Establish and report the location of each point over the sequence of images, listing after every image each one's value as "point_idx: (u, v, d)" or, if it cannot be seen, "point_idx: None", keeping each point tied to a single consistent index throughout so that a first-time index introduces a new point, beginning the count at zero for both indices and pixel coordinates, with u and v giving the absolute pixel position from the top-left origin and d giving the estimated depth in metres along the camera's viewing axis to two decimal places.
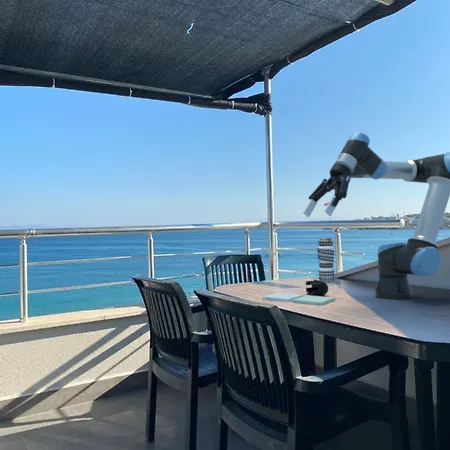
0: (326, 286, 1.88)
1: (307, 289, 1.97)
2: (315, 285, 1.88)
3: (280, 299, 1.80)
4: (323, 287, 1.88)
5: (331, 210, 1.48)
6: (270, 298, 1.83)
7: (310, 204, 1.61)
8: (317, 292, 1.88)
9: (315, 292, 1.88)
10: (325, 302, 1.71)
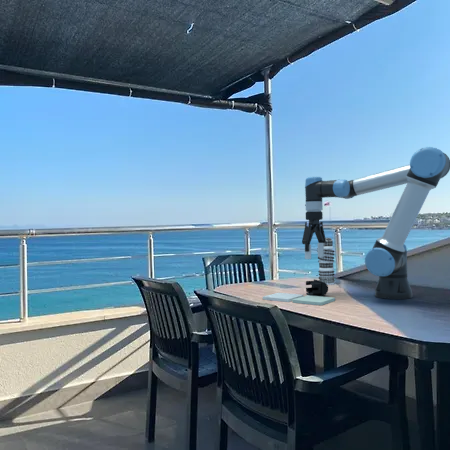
0: (326, 286, 1.88)
1: (307, 289, 1.97)
2: (315, 285, 1.88)
3: (280, 299, 1.80)
4: (323, 287, 1.88)
5: (308, 255, 1.86)
6: (270, 298, 1.83)
7: (318, 247, 1.97)
8: (317, 292, 1.88)
9: (315, 292, 1.88)
10: (325, 302, 1.71)
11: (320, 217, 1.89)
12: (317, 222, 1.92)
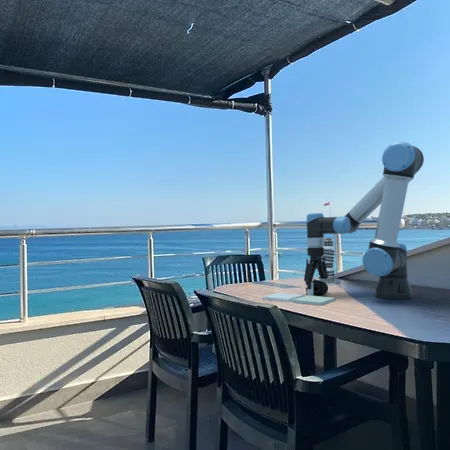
0: (326, 286, 1.88)
1: None
2: (315, 285, 1.88)
3: (280, 299, 1.80)
4: (323, 287, 1.88)
5: (311, 292, 1.88)
6: (270, 298, 1.83)
7: None
8: (317, 292, 1.88)
9: (315, 292, 1.88)
10: (325, 302, 1.71)
11: (321, 253, 1.90)
12: (319, 258, 1.93)
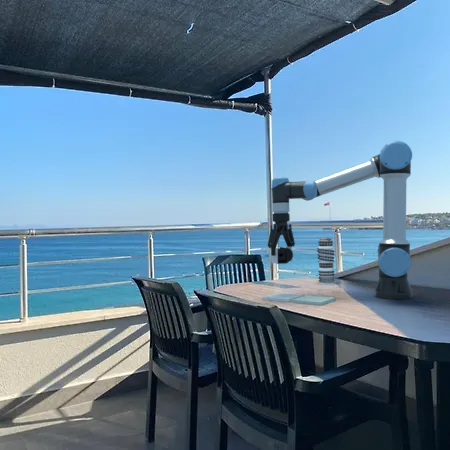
0: (291, 252, 1.82)
1: None
2: (279, 251, 1.82)
3: (280, 299, 1.80)
4: (288, 253, 1.82)
5: (275, 259, 1.81)
6: (270, 298, 1.83)
7: None
8: (281, 258, 1.82)
9: (279, 258, 1.81)
10: (325, 302, 1.71)
11: (286, 219, 1.83)
12: (284, 224, 1.87)
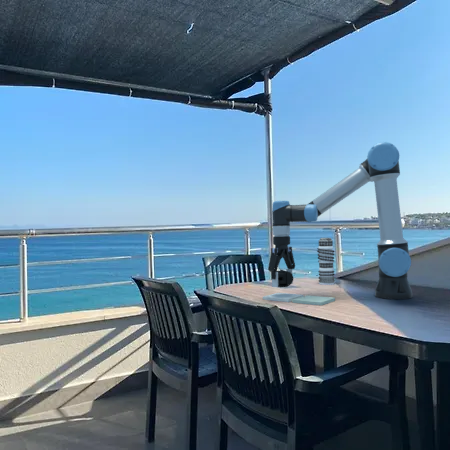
0: (291, 276, 1.82)
1: None
2: (280, 275, 1.81)
3: (280, 299, 1.80)
4: (288, 277, 1.82)
5: (275, 283, 1.81)
6: (270, 298, 1.83)
7: None
8: (282, 282, 1.82)
9: (280, 282, 1.81)
10: (325, 302, 1.71)
11: (287, 242, 1.83)
12: (285, 247, 1.87)
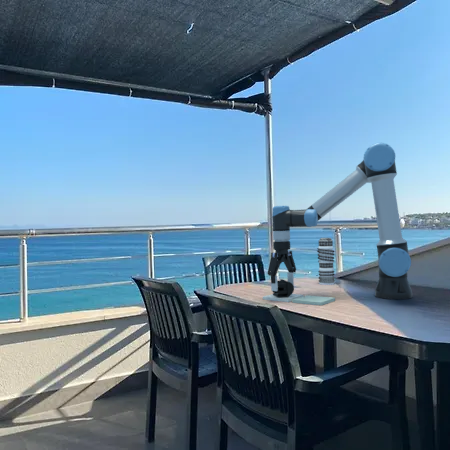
0: (292, 286, 1.82)
1: None
2: (280, 285, 1.81)
3: (280, 299, 1.80)
4: (289, 287, 1.81)
5: (275, 287, 1.80)
6: (270, 298, 1.83)
7: (288, 277, 1.92)
8: (282, 292, 1.81)
9: (280, 292, 1.81)
10: (325, 302, 1.71)
11: (287, 247, 1.83)
12: (285, 252, 1.87)
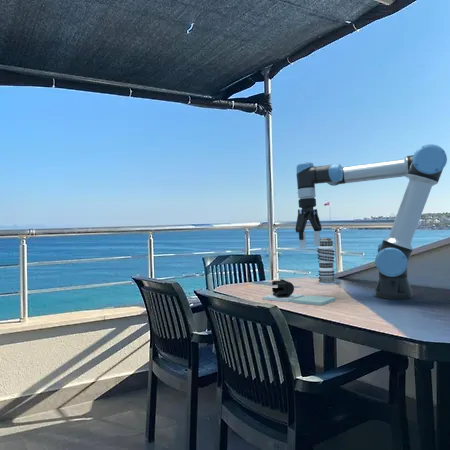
0: (292, 286, 1.82)
1: (273, 289, 1.90)
2: (280, 285, 1.81)
3: (280, 299, 1.80)
4: (289, 287, 1.81)
5: (303, 243, 1.79)
6: (270, 298, 1.83)
7: (314, 236, 1.90)
8: (282, 292, 1.81)
9: (280, 292, 1.81)
10: (325, 302, 1.71)
11: (313, 204, 1.82)
12: (311, 209, 1.85)
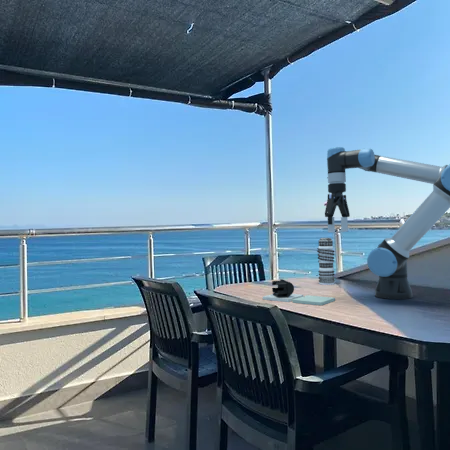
0: (292, 286, 1.82)
1: (273, 289, 1.90)
2: (280, 285, 1.81)
3: (280, 299, 1.80)
4: (289, 287, 1.81)
5: (332, 228, 1.78)
6: (270, 298, 1.83)
7: (342, 222, 1.89)
8: (282, 292, 1.81)
9: (280, 292, 1.81)
10: (325, 302, 1.71)
11: (343, 189, 1.81)
12: (340, 195, 1.84)
